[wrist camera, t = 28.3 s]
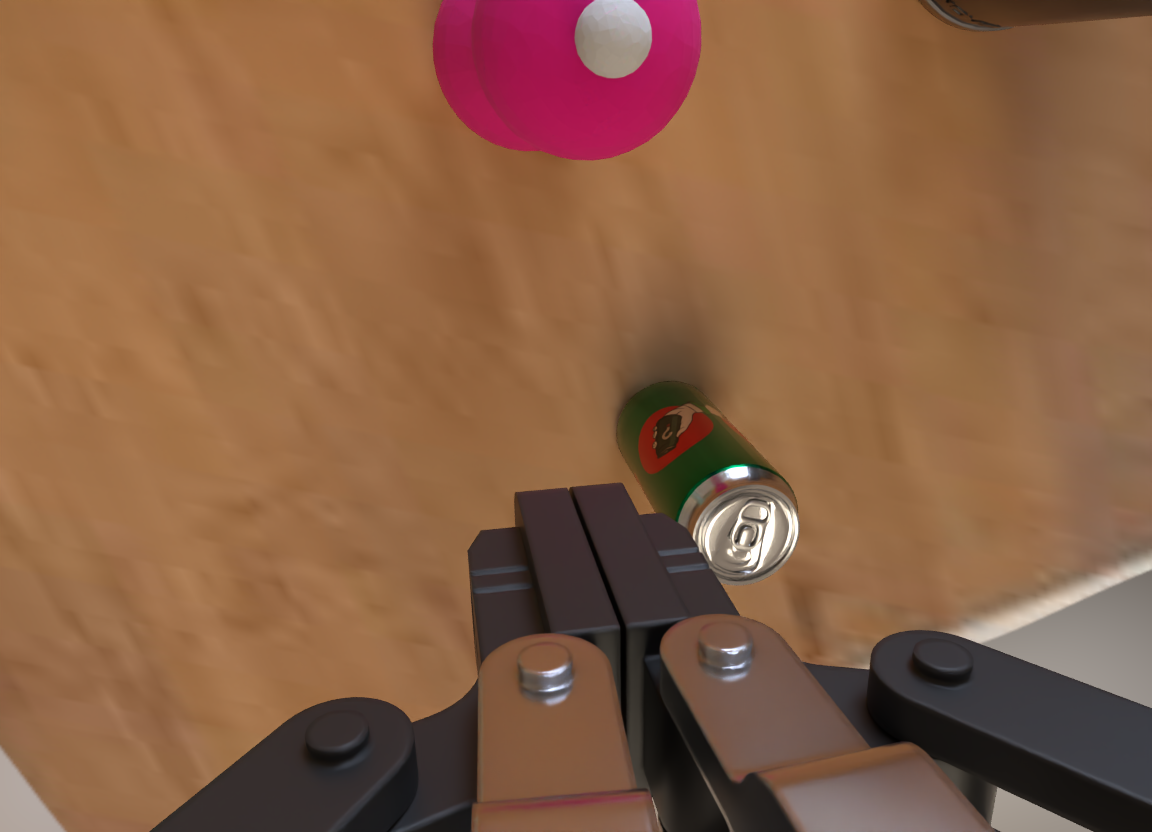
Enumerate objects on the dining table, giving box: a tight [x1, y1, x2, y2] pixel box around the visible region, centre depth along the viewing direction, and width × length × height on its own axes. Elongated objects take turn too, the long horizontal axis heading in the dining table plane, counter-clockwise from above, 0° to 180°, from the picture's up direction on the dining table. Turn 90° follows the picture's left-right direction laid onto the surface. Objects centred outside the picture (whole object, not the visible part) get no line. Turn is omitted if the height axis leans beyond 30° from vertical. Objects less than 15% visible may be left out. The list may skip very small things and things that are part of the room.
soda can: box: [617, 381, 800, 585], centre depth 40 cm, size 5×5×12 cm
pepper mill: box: [433, 0, 701, 160], centre depth 29 cm, size 7×7×20 cm
